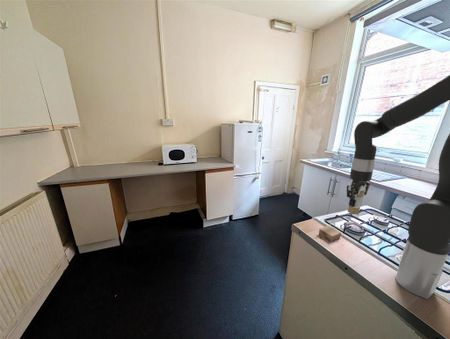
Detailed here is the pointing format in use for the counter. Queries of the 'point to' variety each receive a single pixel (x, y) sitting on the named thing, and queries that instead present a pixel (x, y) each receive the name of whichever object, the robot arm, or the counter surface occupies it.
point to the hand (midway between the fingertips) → (354, 204)
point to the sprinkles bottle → (357, 203)
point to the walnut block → (330, 233)
